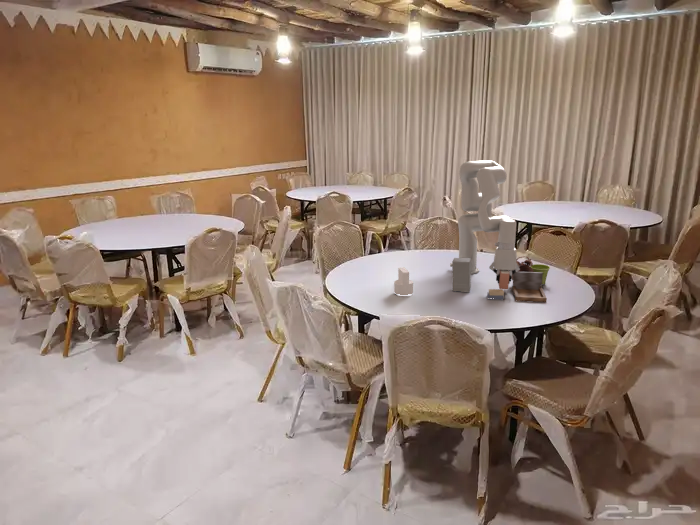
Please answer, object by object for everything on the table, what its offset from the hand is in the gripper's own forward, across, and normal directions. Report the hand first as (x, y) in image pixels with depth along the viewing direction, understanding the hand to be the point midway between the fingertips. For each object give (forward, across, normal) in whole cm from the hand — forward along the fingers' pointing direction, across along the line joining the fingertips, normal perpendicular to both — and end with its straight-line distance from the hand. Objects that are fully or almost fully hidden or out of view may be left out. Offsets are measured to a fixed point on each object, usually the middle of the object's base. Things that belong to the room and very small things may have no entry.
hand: (503, 282), depth 241 cm
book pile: (+5, -4, -10) cm, 12 cm away
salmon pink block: (+2, 0, 0) cm, 2 cm away
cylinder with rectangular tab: (+5, -46, -10) cm, 48 cm away
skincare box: (+5, -20, -1) cm, 20 cm away
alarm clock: (+5, +10, +11) cm, 15 cm away
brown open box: (+5, +12, -4) cm, 13 cm away
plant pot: (+5, +18, +16) cm, 25 cm away
